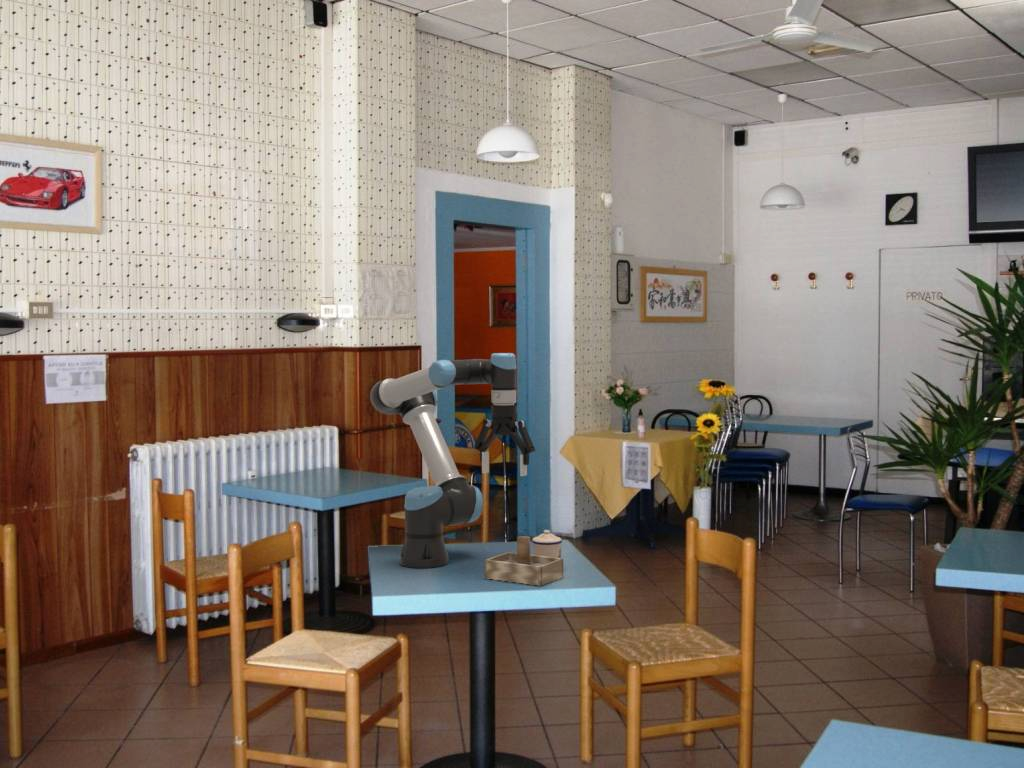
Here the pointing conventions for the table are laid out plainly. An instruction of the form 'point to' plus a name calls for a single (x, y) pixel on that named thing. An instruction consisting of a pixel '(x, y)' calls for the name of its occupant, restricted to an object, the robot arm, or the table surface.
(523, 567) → the box with hole
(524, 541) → the peg
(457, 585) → the table surface
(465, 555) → the table surface
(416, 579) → the table surface
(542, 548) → the teacup with lid
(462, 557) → the table surface
